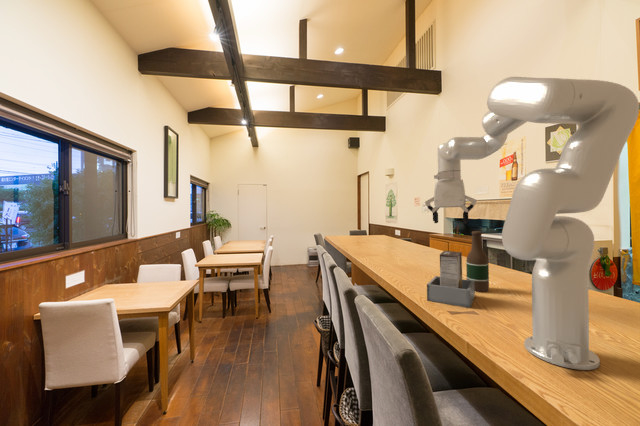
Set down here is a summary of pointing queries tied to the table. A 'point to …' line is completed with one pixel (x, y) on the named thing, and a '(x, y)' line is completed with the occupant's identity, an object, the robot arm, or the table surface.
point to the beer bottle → (478, 264)
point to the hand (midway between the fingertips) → (450, 223)
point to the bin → (451, 293)
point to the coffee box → (451, 269)
